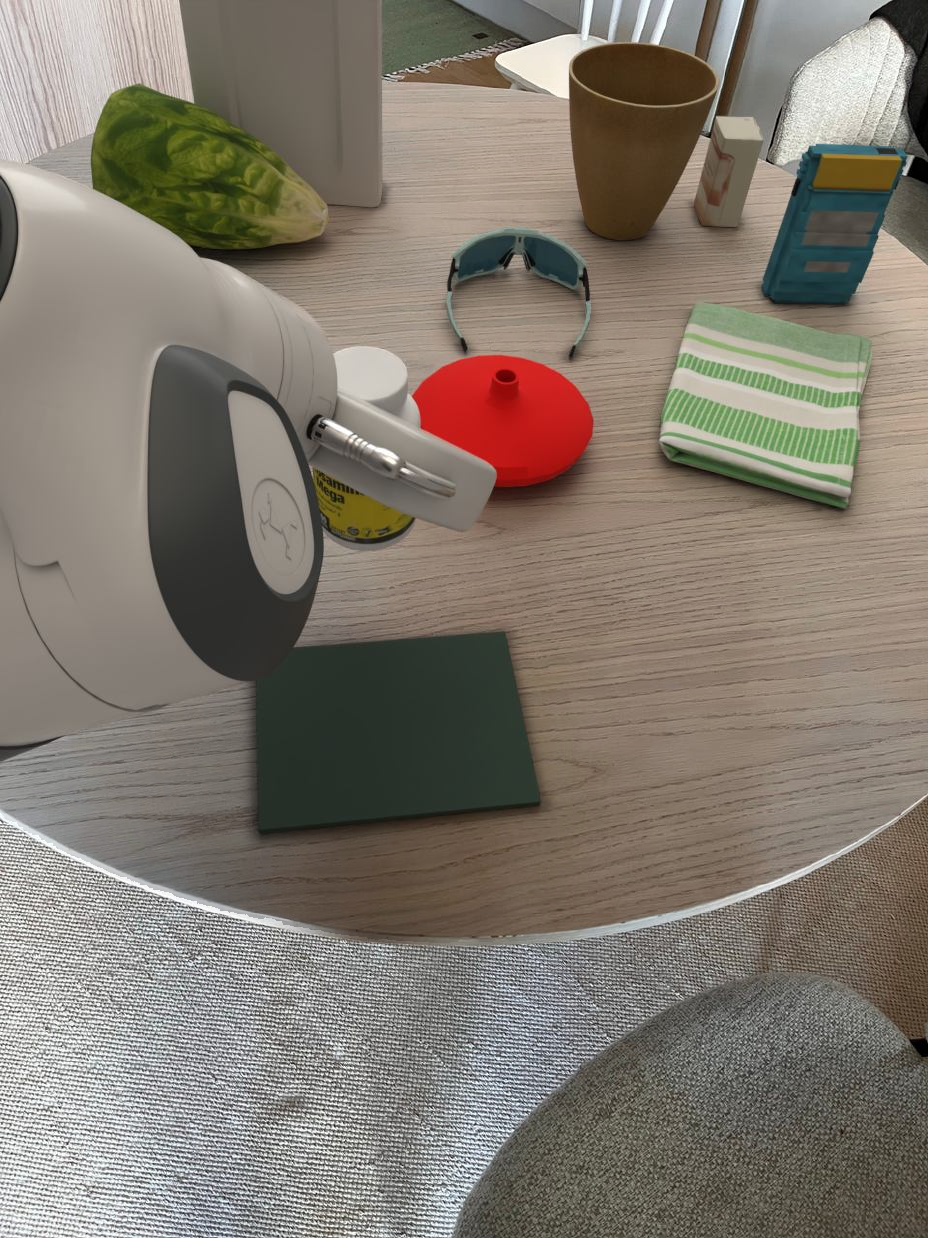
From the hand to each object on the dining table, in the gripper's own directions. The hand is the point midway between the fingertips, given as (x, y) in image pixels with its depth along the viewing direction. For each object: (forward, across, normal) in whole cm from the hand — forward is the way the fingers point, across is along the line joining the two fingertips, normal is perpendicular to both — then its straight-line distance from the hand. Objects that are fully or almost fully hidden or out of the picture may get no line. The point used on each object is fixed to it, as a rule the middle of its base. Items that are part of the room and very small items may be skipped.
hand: (371, 438), depth 56 cm
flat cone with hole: (+31, +5, -3) cm, 31 cm away
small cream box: (+64, +6, -37) cm, 74 cm away
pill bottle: (+4, 0, +5) cm, 6 cm away
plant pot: (+58, +14, -30) cm, 67 cm away
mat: (+10, -5, +17) cm, 21 cm away
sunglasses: (+43, +14, -16) cm, 48 cm away
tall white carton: (+48, +48, -21) cm, 72 cm away
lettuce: (+37, +45, -10) cm, 59 cm away
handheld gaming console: (+58, -8, -31) cm, 66 cm away
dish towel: (+44, -12, -17) cm, 49 cm away
